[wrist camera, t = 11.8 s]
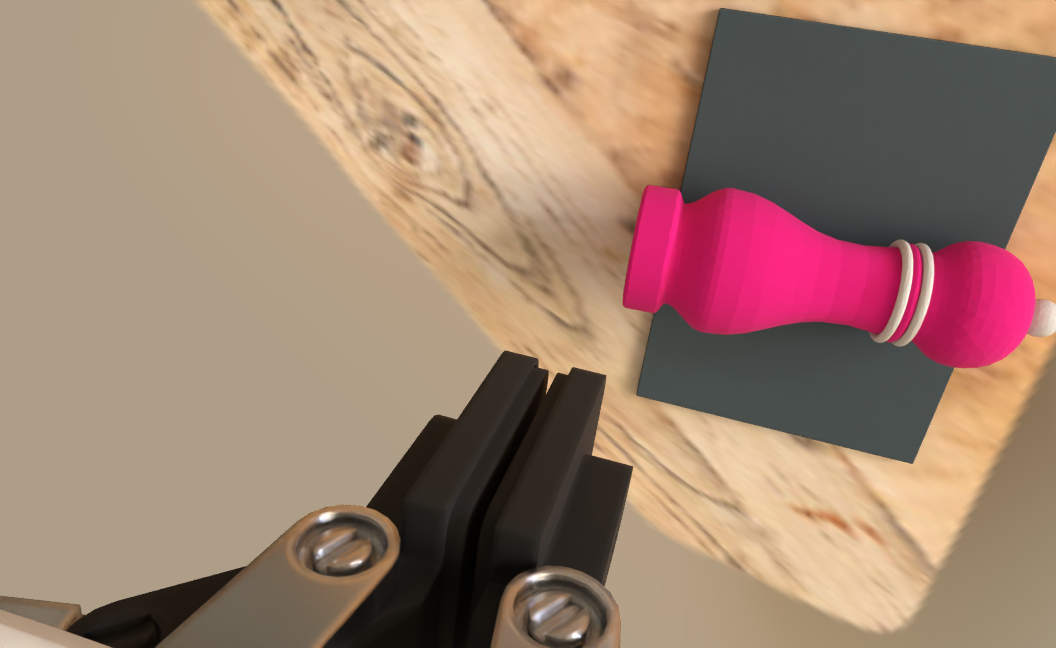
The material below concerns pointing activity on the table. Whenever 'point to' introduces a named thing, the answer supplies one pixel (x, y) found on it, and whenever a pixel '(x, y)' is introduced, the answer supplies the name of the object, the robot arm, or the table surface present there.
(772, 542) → the table surface
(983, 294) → the pepper mill
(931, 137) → the mat
